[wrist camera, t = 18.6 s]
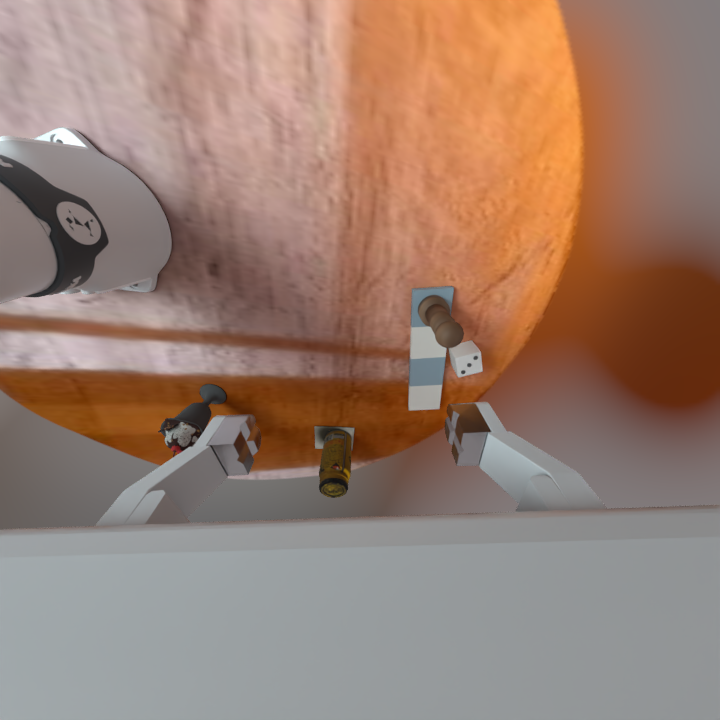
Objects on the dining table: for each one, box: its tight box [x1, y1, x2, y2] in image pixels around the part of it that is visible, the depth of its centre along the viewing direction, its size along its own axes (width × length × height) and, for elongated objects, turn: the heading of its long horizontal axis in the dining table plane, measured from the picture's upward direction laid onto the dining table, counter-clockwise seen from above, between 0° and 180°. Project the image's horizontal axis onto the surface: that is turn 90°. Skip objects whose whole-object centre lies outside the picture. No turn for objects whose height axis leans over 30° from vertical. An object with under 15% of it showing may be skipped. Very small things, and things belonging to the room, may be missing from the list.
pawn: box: [418, 295, 464, 348], centre depth 35 cm, size 4×4×11 cm
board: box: [408, 286, 454, 411], centre depth 45 cm, size 6×24×1 cm, turn 4°
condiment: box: [315, 426, 354, 498], centre depth 51 cm, size 7×8×12 cm
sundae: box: [158, 384, 226, 458], centre depth 44 cm, size 7×7×15 cm
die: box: [448, 340, 483, 377], centre depth 43 cm, size 4×4×4 cm
